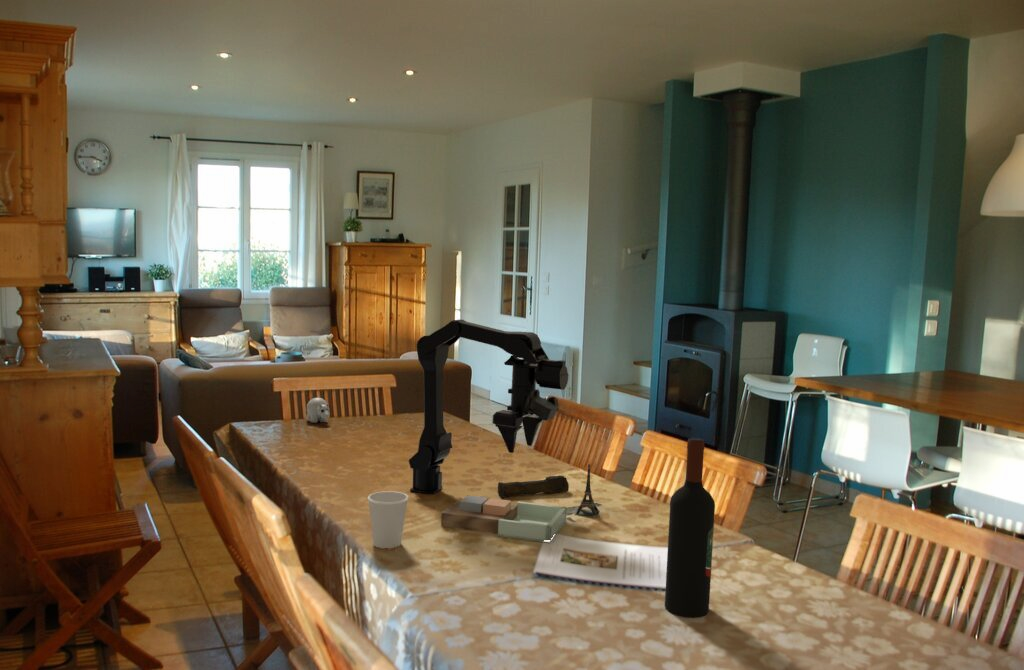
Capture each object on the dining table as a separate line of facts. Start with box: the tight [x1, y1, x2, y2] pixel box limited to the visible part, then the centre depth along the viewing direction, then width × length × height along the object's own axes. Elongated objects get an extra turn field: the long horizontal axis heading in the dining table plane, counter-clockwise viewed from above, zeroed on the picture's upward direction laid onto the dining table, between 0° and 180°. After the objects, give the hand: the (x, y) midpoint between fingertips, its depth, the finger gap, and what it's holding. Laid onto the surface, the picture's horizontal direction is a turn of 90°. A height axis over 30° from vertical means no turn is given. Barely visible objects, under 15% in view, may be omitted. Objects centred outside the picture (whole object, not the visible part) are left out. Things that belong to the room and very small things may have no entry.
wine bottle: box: [664, 437, 716, 619], centre depth 148 cm, size 8×8×30 cm
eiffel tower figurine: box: [566, 459, 602, 523], centre depth 202 cm, size 15×10×13 cm
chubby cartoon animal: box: [305, 397, 331, 424], centre depth 294 cm, size 7×12×8 cm, turn 34°
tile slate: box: [460, 495, 489, 513], centre depth 193 cm, size 5×5×2 cm
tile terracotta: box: [483, 497, 512, 516], centre depth 191 cm, size 5×5×2 cm
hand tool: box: [497, 475, 570, 499], centre depth 216 cm, size 19×4×5 cm, turn 108°
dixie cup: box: [367, 490, 409, 549], centre depth 176 cm, size 8×8×10 cm
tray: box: [497, 501, 568, 543], centre depth 189 cm, size 12×15×4 cm
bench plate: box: [440, 498, 517, 535], centre depth 192 cm, size 14×12×3 cm
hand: (520, 449), depth 205 cm, fingers open, 9 cm apart
